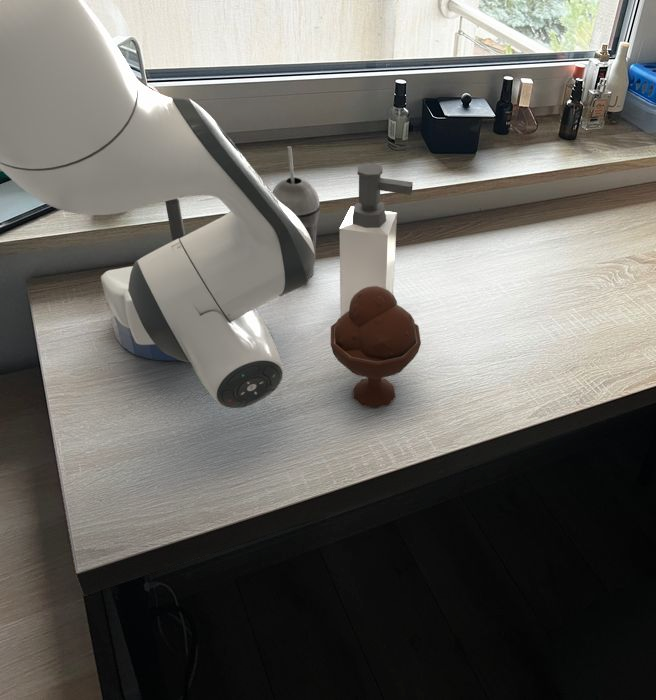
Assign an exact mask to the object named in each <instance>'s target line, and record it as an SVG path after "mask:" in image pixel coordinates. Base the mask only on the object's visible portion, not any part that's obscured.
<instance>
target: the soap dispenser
mask: <svg viewBox="0 0 656 700" xmlns="http://www.w3.org/2000/svg"><path fill="white" fill-rule="evenodd" d="M382 174H383V165H380V164H377V163H373V162H371V163H370V162H363V163H362V164H360V165H358V166H357V176H358V201H357V202H356V203H354V204H353V206H352V205H351V206H350V208H349V210H348V211H347V213H346V215H345V217H344V220H343V221H342V223H341V225H340V227H339V301H340V302H339V303H340V307H339V309H340V311H339V312H340V317H341V316H343V315H344V314H345V313H346V312H348V311H349V307H350V302H351V299H352V298H353V296H354V295H355V294H356V293H357V292H359V291H360V290H362V289H363V288H366V287H370V286H379V287H382V288H384V289H386V290H389V291H390V292H391V293H392V294H393V295H394V288H395V266H396V265H395V264H396V243H397V242H396V241H397V220H398V212H395V211H394V212H393V211H386V208H385V207H386V206H385V202H382V201H381V191H382V192H388V193H395V194H401V195H407V196H408V195H409V196H411V195H412V192H413V185H414V184H413V183H414V182H413V181H408V180H400V179H391V178H383V177H381V176H382Z"/></svg>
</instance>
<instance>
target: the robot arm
mask: <svg viewBox="0 0 656 700" xmlns="http://www.w3.org/2000/svg"><path fill="white" fill-rule="evenodd" d="M134 73H135V72H133V70H132V68H131V67H130V65H129V63H128V61H127V59H125V57H124V56H123V54H122V52H121V50H120V48H119V47H118V45H117V44H116V43H115V41H114V40H113V38H112V37H111V35H110V34H109V32H108V31H107V29H106V27H104V25H103V24H102V22H101V21H100V20H99V18H98V17H97V16H96V14H95V13H94V11H93V10H92V9H91V8H90V6H89V5H88V4H87V3H86V1H84V0H0V170H1V172H3V173H4V174H5V175H6V176H7V177H8V178H9V179H10V180H12V181H13V183H15V184H16V185H17V186H18V187H20V188H21V189H22V190H24V191H25V192H26V193H27V194H29V195H30V196H32V197H33V198H35V199H36V200H38V201H40V202H41V203H43V204H46V205H48V206H50V207H52V208H54V209H57V210H59V211H63V212H67V213H71V214H77V215H83V216H111V215H117V214H123V213H127V212H131V211H134V210H138V209H141V208H146V207H149V206H153V205H156V204H160V203H165V201H168V200H173V199H183V198H188V197H190V198H191V197H200V196H206V197H207V196H209V197H215V198H217V199H219V200H220V201H221V202H222V203H223V204H224V206H226V207H227V209H229V212H228V213H226V214H224V215H222V216H221V217H219V218H217V219H214V220H213V221H211V222H209V223H207V224H205V225H203V226H201V227H199V228H197V229H195V230H193V231H191V232H189V233H188V234H185V236H183V237H181V238H180V239H179V238H178V239H176V240H174V241H172V240H171V241H170V242H168V243H166V244H164V245H163V246H161V247H158V248H156V249H155V250H153V251H151V252H149V253H147V254H145V255H144V256H142V257H140V258H139V259H137V260H135V262H134V264H133V265H132V266H125V267H120V268H114V269H109V270H106V271H105V272H104V273H102V274H101V276H100V282H101V286H102V289H103V294H104V297H105V299H106V303H107V302H108V305H109V307H110V309H111V310H112V312H113V314H114V315H115V317H116V318H117V320H118V321H119V322H120V323H121V324H122V325H123V326H125V327H127V328H130V330H131V333H132V336H133V338H134V340H135V342H136V343H137V344H140V345H150V344H156V345H157V347H158V348H159V349H161V350H162V351H163V352H164V353H165V354H167V355H170V356H172V357H174V358H176V359H179V360H178V361H182V362H185V363H190V364H191V367H192V368H193V370H194V372H195V373H196V375H197V377H198V380H200V382H201V383H202V385H203V387H204V388H205V389H206V391H207V392H208V393H209V395H210V396H211V397H212V398H213V399H214V401H215V402H217V403H218V404H219V405H220V406H222V407H223V408H228V409H242V408H246V407H249V406H252V405H254V404H256V403H258V402H260V401H262V400H263V399H266V398H267V397H268V396H270V395H271V394H272V393H274V392H275V390H276V389H277V388H278V387H279V385H280V384H281V382H282V379H283V376H284V366H283V363H282V359H281V355H280V354H279V350H278V348H277V345H276V343H275V341H274V338H273V336H272V334H271V332H270V331H269V328H268V327H267V325H266V323H265V322H264V320H263V319H262V318H261V317H260V316H259V315H258V314H257V313H256V309H257V308H260V307H261V306H263V305H265V304H267V303H268V302H270V301H271V300H272V301H273V300H274V299H277V298H278V297H283V296H284V295H287V294H289V293H292V292H293V291H296V290H297V289H300V288H303V287H305V286H306V285H308V282H309V279H310V278H311V277H310V275H311V273H312V270H314V269H313V267H314V268H315V264H316V260H317V256H316V250H315V251H314V246H313V243H312V240H311V238H310V236H309V234H308V232H307V230H306V228H305V227H304V225H303V224H302V222H301V221H300V220H299V218H298V217H297V216H296V215H295V214H294V213H293V212H292V211H291V210H290V209H289V208H287V207H286V206H285V205H284V204H282V203H281V202H280V201H279V200H278V198H277V197H276V196H275V195H274V194H273V193H272V192H273V190H271V189H270V188H269V186H268V185H267V184H266V183H265V180H263V178H262V177H261V176H260V175H259V174H258V173H257V171H256V170H255V168H254V167H253V166H252V165H251V164H250V162H249V161H248V159H247V158H246V157H245V156H244V154H243V153H242V152H241V150H240V149H239V148H238V147H237V146H236V145H235V143H234V142H233V140H232V139H231V138H230V137H229V136H228V135H227V134H226V132H225V131H224V129H223V128H222V127H221V126H220V125H219V124H218V122H217V121H216V120H215V119H214V118H213V117H212V116H211V114H209V113H208V112H207V111H206V110H205V109H204V108H203V107H201V106H200V105H199V104H198V103H196V102H195V101H193V100H192V99H191V98H184V97H169V96H167V95H164V94H162V93H159V92H157V91H155V90H153V89H151V88H149V87H148V86H146V85H145V84H143V83H142V82H141V81H140V80H139V79H138V78H137V76H136V75H135V74H134ZM108 305H107V306H108Z"/></svg>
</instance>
